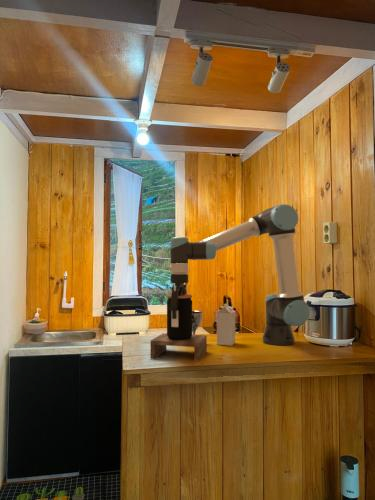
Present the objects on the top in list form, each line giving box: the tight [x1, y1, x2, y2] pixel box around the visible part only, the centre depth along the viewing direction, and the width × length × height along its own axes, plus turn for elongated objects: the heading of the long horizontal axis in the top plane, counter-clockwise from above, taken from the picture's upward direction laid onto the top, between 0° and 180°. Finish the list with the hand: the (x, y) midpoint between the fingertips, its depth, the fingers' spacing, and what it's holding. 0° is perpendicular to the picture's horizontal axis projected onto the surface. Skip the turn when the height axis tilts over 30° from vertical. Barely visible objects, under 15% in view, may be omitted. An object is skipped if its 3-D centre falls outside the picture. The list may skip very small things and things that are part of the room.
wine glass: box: [192, 310, 203, 335], centre depth 177 cm, size 8×8×15 cm
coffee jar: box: [166, 293, 193, 340], centre depth 157 cm, size 11×11×18 cm
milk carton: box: [216, 302, 236, 347], centre depth 177 cm, size 7×7×19 cm
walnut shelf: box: [149, 332, 208, 362], centre depth 156 cm, size 20×16×7 cm
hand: (179, 324), depth 157 cm, fingers open, 13 cm apart
